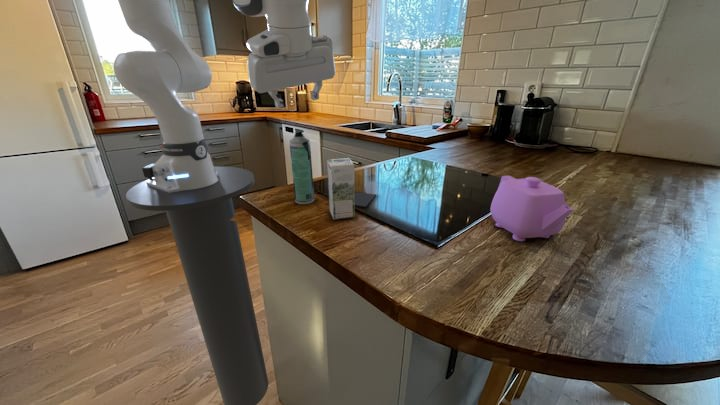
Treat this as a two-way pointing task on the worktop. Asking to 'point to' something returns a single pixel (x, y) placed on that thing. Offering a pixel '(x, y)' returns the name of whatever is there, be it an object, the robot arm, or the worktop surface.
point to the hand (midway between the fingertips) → (297, 103)
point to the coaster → (363, 199)
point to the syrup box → (341, 188)
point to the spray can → (301, 168)
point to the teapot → (529, 208)
